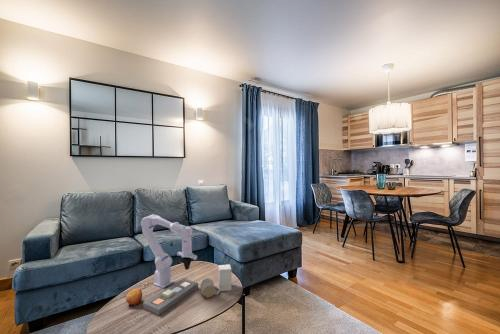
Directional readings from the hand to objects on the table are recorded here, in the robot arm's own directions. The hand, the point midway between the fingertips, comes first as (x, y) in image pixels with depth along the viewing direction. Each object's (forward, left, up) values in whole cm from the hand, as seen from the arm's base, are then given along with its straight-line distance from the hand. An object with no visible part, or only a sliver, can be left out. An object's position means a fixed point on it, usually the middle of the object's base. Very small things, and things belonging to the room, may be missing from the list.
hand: (187, 268), depth 142 cm
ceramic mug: (+18, 0, -11) cm, 21 cm away
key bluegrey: (+2, -10, -9) cm, 14 cm away
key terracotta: (+2, -23, -9) cm, 25 cm away
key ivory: (+2, -4, -9) cm, 10 cm away
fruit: (-13, -27, -11) cm, 31 cm away
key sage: (+2, -17, -8) cm, 18 cm away
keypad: (+2, -13, -10) cm, 17 cm away
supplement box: (+22, +9, -11) cm, 26 cm away
